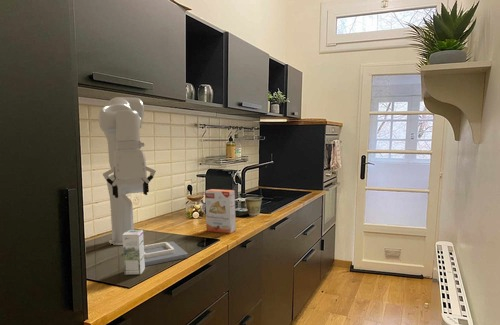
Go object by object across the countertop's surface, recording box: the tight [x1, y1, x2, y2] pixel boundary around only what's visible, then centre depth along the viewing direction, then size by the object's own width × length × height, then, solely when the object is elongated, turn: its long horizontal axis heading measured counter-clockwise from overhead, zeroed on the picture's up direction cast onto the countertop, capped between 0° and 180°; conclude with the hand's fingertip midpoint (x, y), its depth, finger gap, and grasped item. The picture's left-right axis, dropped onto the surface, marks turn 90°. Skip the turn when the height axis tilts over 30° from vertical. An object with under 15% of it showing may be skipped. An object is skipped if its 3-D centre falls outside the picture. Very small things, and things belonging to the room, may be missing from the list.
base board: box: [144, 241, 189, 267], centre depth 137 cm, size 20×20×3 cm
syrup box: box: [122, 229, 146, 276], centre depth 119 cm, size 6×6×14 cm
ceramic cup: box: [245, 196, 263, 217], centre depth 209 cm, size 13×10×10 cm
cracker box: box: [204, 188, 237, 235], centre depth 171 cm, size 14×6×21 cm, turn 65°
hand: (131, 195), depth 118 cm, fingers open, 9 cm apart
